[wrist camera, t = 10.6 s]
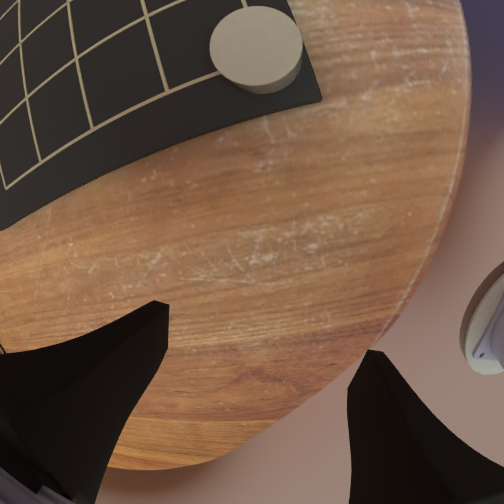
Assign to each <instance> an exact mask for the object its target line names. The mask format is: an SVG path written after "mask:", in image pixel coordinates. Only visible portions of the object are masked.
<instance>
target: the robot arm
mask: <svg viewBox="0 0 504 504" xmlns="http://www.w3.org/2000/svg"><path fill="white" fill-rule="evenodd" d="M168 327H169V305H168V304H165V303H162V302H158V301H155V300H154V301H151V302H149V303H148V304H146V305H144V306H142V307H140V308H138V309H136V310H135V311H133V312H131V313H129V314H127V315H125V316H123V317H121V318H119V319H117V320H116V321H114V322H112V323H110V324H107V325H105V326H103V327H101V328H99V329H96V330H94V331H92V332H90V333H88V334H85V335H83V336H80V337H77V338H75V339H72V340H69V341H66V342H63V343H59V344H55V345H51V346H47V347H43V348H39V349H35V350H29V351H23V352H16V353H7V354H0V504H95V501H96V497H97V494H98V491H99V488H100V484H101V482H102V479H103V476H104V473H105V470H106V468H107V465H108V462H109V460H110V457H111V455H112V452H113V450H114V448H115V445H116V443H117V441H118V438H119V436H120V434H121V432H122V430H123V427H124V425H125V423H126V421H127V419H128V417H129V416H130V414H131V412H132V410H133V409H134V407H135V406H136V404H137V402H138V401H139V399H140V398H141V396H142V394H143V393H144V391H145V390H146V388H147V387H148V385H149V383H150V382H151V380H152V379H153V377H154V375H155V374H156V372H157V370H158V369H159V366H160V364H161V362H162V360H163V358H164V355H165V353H166V351H167V349H168ZM472 356H473V357H474V359H482V360H496V361H498V362H499V363H500V365H501V366H502V368H503V370H504V294H503V297H502V299H501V301H500V303H499V305H498V307H497V309H496V311H495V313H494V315H493V317H492V319H491V321H490V323H489V325H488V327H487V329H486V330H485V332H484V334H483V336H482V338H481V339H480V341H479V343H478V345H477V346H476V348H475V350H474V351H473V353H472ZM347 418H348V428H349V439H350V449H351V466H352V468H351V469H352V472H351V487H350V498H349V504H504V467H502V466H500V465H499V464H497V463H495V462H493V461H491V460H489V459H488V458H486V457H484V456H483V455H481V454H480V453H478V452H477V451H475V450H474V449H472V448H471V447H469V446H468V445H467V444H466V443H464V442H463V441H462V440H461V439H460V438H458V437H457V436H456V435H455V434H454V433H452V432H451V431H450V430H449V429H448V428H447V427H446V426H445V425H444V424H443V423H442V422H441V421H440V420H439V419H438V418H436V416H435V415H434V414H432V412H431V411H430V410H429V409H428V408H427V406H426V405H425V404H424V403H423V402H422V401H421V399H420V398H419V397H418V396H417V394H416V393H415V392H414V391H413V390H412V389H411V387H410V386H409V384H408V383H407V382H406V381H405V379H404V378H403V377H402V375H401V374H400V373H399V371H398V370H397V369H396V367H395V366H394V365H393V364H392V362H391V361H390V360H389V358H388V357H387V356H386V355H385V354H384V353H383V352H381V351H375V350H369V349H368V350H367V352H366V354H365V356H364V358H363V360H362V362H361V364H360V366H359V368H358V370H357V372H356V374H355V376H354V377H353V379H352V381H351V383H350V385H349V387H348V395H347Z"/></svg>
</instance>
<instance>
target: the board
mask: <svg viewBox="0 0 504 504" xmlns="http://www.w3.org/2000/svg"><path fill="white" fill-rule="evenodd" d="M250 6H265V7H270V8H274V9H276V10H279V11H281V12H283V13H284V14H286V15H287V16H289V17H290V18H291V19H292V20H293V21H294V22H295V20H294V17H293V15H292V12H291V10H290V7H289V5H288V3H287V0H0V231H2V230H4V229H6V228H8V227H10V226H11V225H13V224H15V223H16V222H18V221H19V220H21V219H23V218H24V217H26V216H28V215H29V214H31V213H33V212H34V211H36V210H38V209H40V208H41V207H43V206H45V205H47V204H49V203H50V202H52V201H54V200H56V199H58V198H60V197H61V196H63V195H65V194H67V193H69V192H71V191H73V190H75V189H77V188H79V187H81V186H83V185H85V184H87V183H89V182H91V181H93V180H95V179H97V178H99V177H101V176H103V175H105V174H107V173H110V172H112V171H114V170H116V169H118V168H120V167H123V166H125V165H127V164H129V163H132V162H134V161H136V160H139V159H141V158H144V157H146V156H148V155H151V154H153V153H156V152H158V151H161V150H163V149H166V148H168V147H171V146H173V145H176V144H179V143H181V142H184V141H187V140H190V139H192V138H195V137H198V136H201V135H204V134H207V133H209V132H212V131H215V130H218V129H221V128H225V127H228V126H231V125H234V124H237V123H240V122H244V121H247V120H250V119H254V118H257V117H261V116H264V115H268V114H272V113H275V112H279V111H283V110H287V109H291V108H295V107H299V106H303V105H307V104H312V103H316V102H320V101H321V100H322V96H321V93H320V90H319V86H318V83H317V80H316V77H315V74H314V71H313V68H312V65H311V62H310V60H309V57H308V54H307V51H306V48H305V46H304V43H303V55H302V66H301V69H300V72H299V74H298V75H297V77H296V78H295V79H294V81H293V82H292V83H291V84H289V85H288V86H287V87H285V88H283V89H282V90H279V91H277V92H273V93H268V94H255V93H251V92H248V91H245V90H243V89H241V88H239V87H238V86H236V85H235V84H234V83H232V82H231V81H230V80H228V79H227V78H226V77H225V76H223V75H222V74H221V73H220V72H219V71H218V70H217V68H216V67H215V66H214V64H213V62H212V59H211V56H210V47H209V45H210V39H211V36H212V33H213V31H214V29H215V28H216V26H217V25H218V24H219V22H220V21H221V20H222V19H223V18H225V17H226V16H227V15H229V14H230V13H232V12H234V11H236V10H238V9H241V8H245V7H250ZM295 24H296V22H295ZM302 41H303V40H302Z"/></svg>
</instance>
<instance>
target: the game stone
mask: <svg viewBox="0 0 504 504" xmlns="http://www.w3.org/2000/svg"><path fill="white" fill-rule="evenodd" d="M209 47H210V56H211V59H212V62H213V64H214V66H215V67H216V68H217V70H218V71H219V72H220V73H221V74H222V75H223V76H225V77H226V78H227V79H228V80H230V81H231V82H232V83H234V84H235V85H236V86H238V87H239V88H241V89H243V90H245V91H248V92H251V93H255V94H268V93H273V92H277V91H279V90H282V89H283V88H285V87H287V86H288V85H289V84H291V83H292V82H293V81H294V79H295V78H296V77H297V75H298V74H299V72H300V69H301V66H302V55H303V41H302V36H301V33H300V30H299V28H298V27H297V25H296V24H295V22H294V21H293V20H292V19H291V18H290V17H289V16H287V15H286V14H284V13H283V12H281V11H279V10H276V9H274V8H270V7H265V6H250V7H245V8H241V9H238V10H236V11H234V12H232V13H230V14H229V15H227V16H226V17H225V18H223V19H222V20H221V21H220V22H219V24H218V25H217V26H216V28H215V29H214V31H213V33H212V36H211V39H210V45H209Z"/></svg>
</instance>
